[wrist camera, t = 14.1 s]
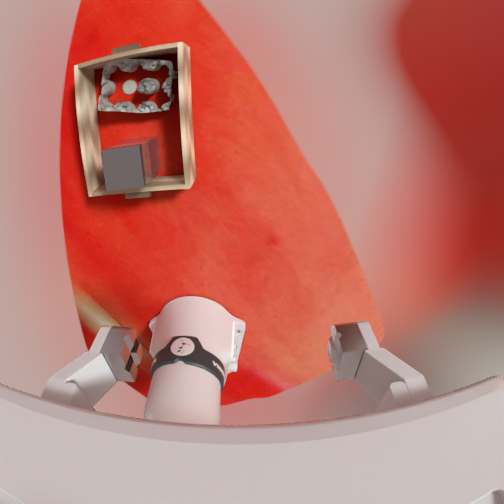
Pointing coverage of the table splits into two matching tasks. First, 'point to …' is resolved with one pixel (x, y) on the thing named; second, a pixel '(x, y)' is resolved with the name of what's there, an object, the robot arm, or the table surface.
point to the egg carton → (135, 85)
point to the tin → (131, 163)
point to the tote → (90, 128)
